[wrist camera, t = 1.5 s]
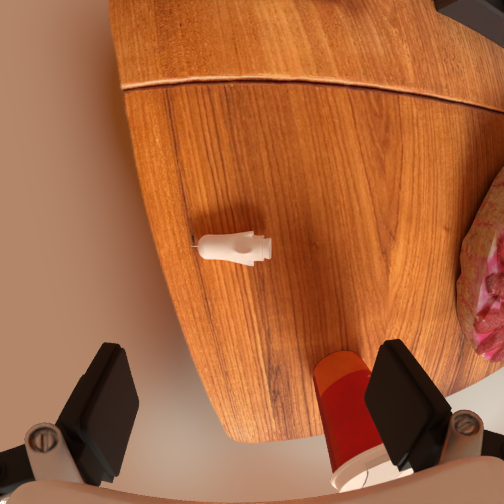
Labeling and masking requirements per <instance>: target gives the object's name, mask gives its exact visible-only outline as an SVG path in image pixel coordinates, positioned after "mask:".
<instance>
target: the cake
mask: <svg viewBox="0 0 504 504" xmlns="http://www.w3.org/2000/svg"><path fill="white" fill-rule="evenodd" d="M460 264H461V271H462V273H461V275H460V276H459V278H458V280H457V282H456V284H457V305H456V307H457V313H458V319H459V322H460V325H461V328H462V331H463V332H464V334H465V336H466V337H467V339H468V341H469V342H470V344H471V345H472V347H473V348H474V350H475V351H476V353H477V354H478V355H480V356H481V357H483V358H485V359H487V360H488V361H489V362H490V363H491V362H499V361H501V360H502V359H503V358H504V167H502V169H501V170H500V172H499V173H498V175H497V176H496V177H495V179H494V181H493V183H492V185H491V187H490V189H489V191H488V193H487V195H486V196H485V198H484V200H483V202H482V204H481V206H480V208H479V210H478V212H477V214H476V217H475V219H474V221H473V224H472V226H471V228H470V230H469V232H468V233H467V235H466V236H465V238H464V240H463V241H462V247H461V252H460Z"/></svg>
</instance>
